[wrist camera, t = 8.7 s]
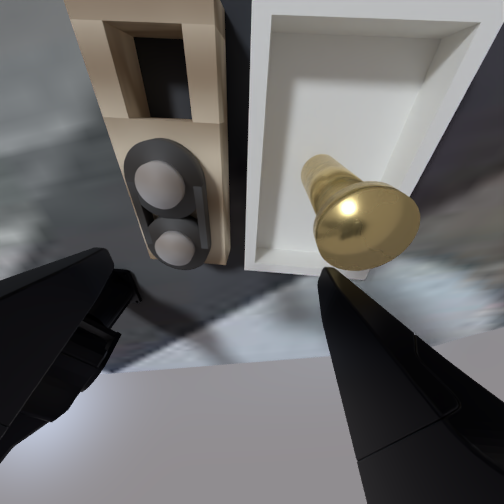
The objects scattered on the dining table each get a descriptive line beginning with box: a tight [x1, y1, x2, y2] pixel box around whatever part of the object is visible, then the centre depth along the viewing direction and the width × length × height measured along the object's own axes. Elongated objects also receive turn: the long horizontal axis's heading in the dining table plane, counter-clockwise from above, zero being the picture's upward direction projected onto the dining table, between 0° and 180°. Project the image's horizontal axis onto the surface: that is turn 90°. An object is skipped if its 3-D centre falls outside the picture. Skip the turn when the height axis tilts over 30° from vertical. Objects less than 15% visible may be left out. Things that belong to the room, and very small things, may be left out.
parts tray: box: [244, 0, 504, 280], centre depth 16 cm, size 18×12×4 cm, turn 177°
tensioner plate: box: [64, 0, 231, 270], centre depth 15 cm, size 18×8×5 cm, turn 177°
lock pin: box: [301, 154, 420, 271], centre depth 12 cm, size 4×4×10 cm
